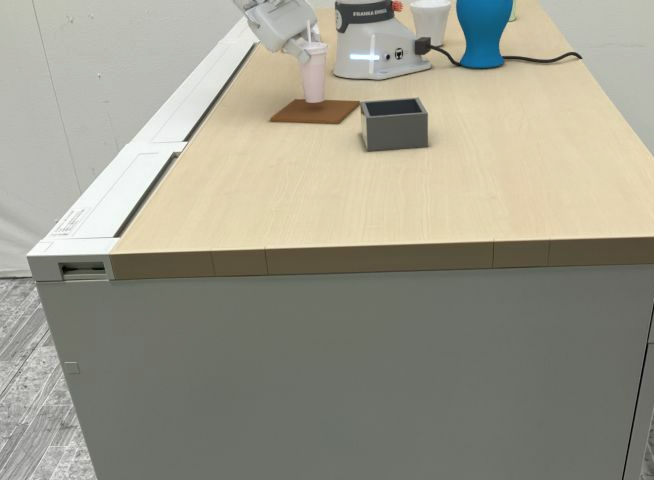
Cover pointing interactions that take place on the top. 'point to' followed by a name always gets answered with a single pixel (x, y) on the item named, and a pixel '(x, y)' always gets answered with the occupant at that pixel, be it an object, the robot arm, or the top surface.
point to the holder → (394, 124)
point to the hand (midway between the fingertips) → (314, 56)
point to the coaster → (315, 111)
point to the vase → (483, 30)
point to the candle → (513, 11)
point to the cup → (431, 19)
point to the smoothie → (313, 69)
